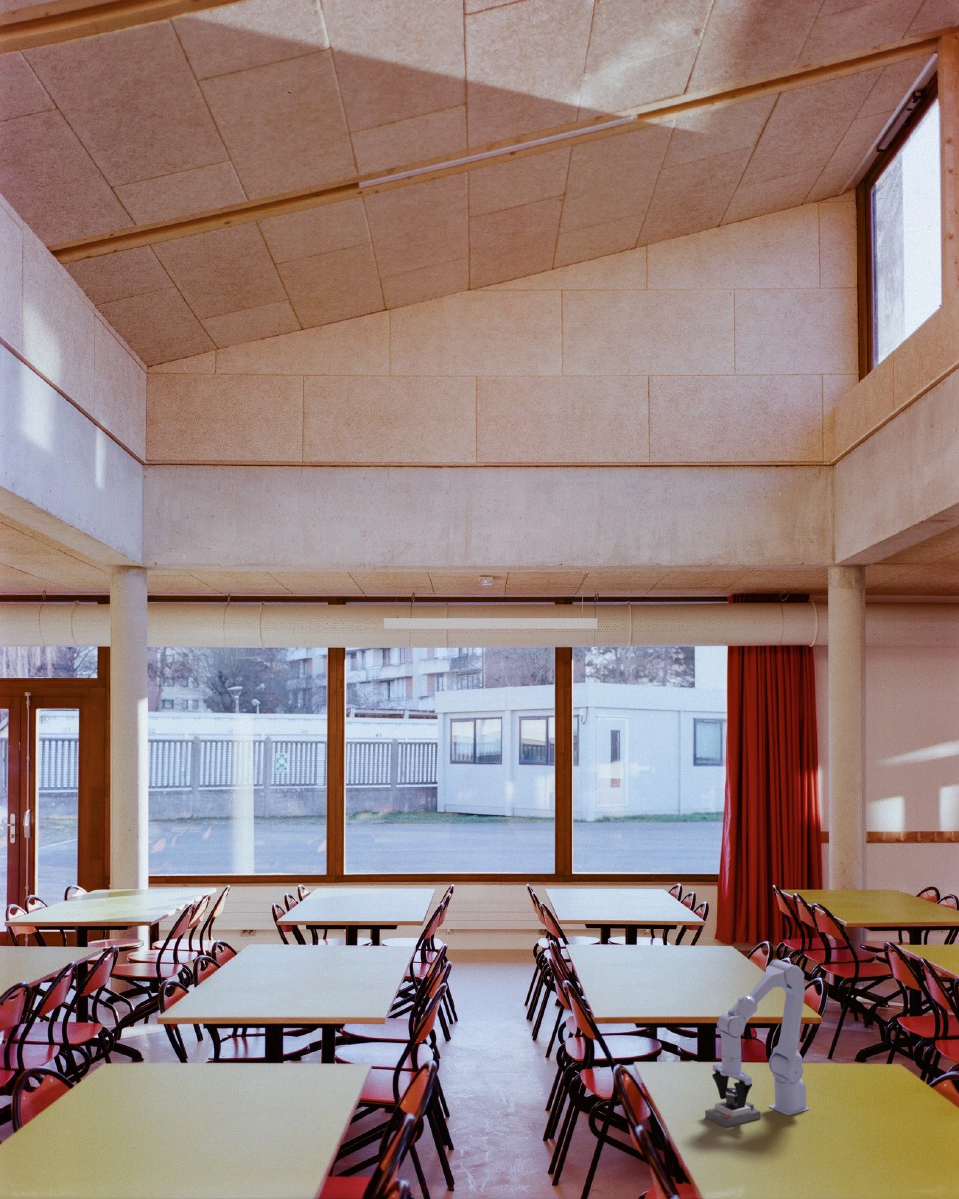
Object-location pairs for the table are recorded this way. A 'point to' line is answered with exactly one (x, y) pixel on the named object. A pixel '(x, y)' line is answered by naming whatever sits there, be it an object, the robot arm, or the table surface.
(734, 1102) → the lens
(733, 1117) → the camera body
